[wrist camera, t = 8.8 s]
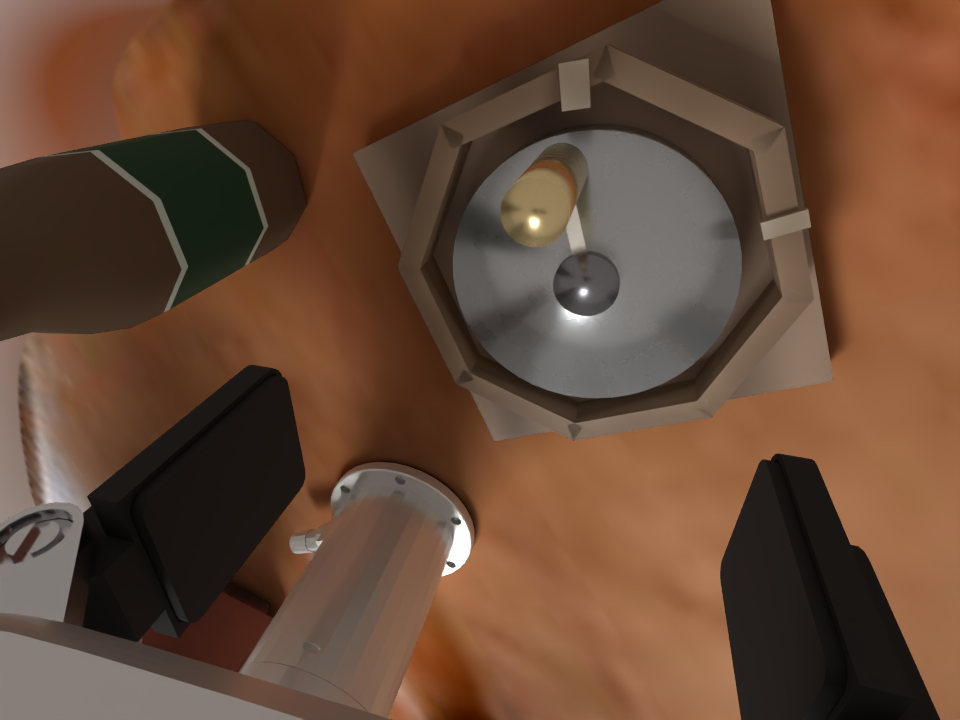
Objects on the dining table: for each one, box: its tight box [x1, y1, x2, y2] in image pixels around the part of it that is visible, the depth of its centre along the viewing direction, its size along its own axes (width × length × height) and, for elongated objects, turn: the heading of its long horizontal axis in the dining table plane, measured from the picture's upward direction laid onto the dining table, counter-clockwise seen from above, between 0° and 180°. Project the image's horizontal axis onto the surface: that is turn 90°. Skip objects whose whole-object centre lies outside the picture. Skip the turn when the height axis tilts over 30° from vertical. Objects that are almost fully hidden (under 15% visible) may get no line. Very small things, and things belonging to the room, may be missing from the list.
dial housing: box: [352, 0, 834, 441], centre depth 28 cm, size 20×20×4 cm
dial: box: [453, 124, 742, 398], centre depth 24 cm, size 14×14×9 cm
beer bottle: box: [0, 120, 307, 341], centre depth 23 cm, size 8×8×24 cm
